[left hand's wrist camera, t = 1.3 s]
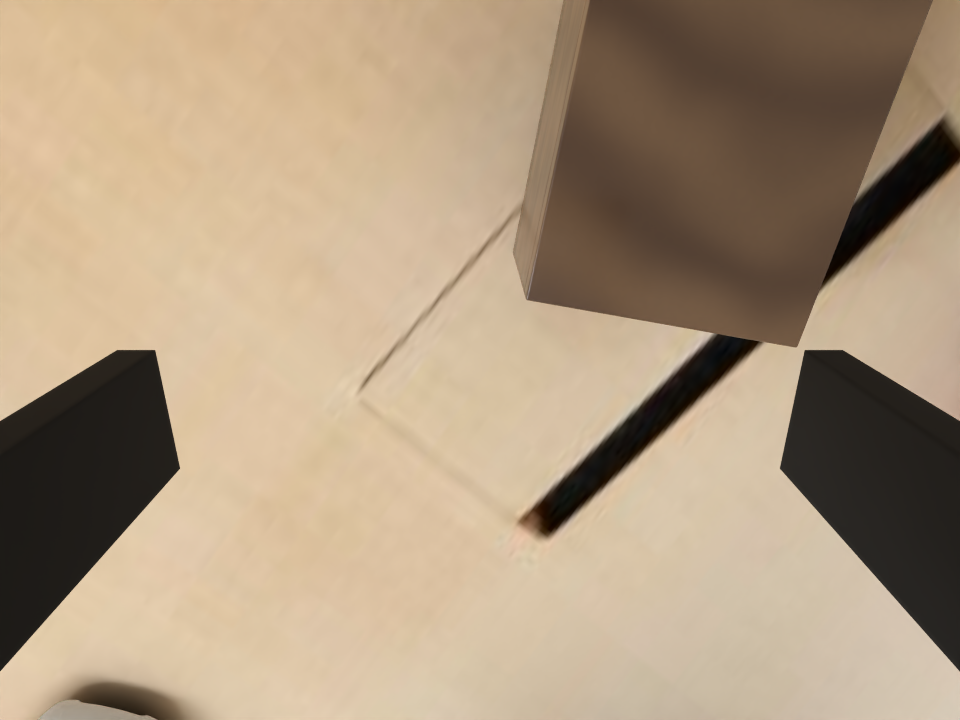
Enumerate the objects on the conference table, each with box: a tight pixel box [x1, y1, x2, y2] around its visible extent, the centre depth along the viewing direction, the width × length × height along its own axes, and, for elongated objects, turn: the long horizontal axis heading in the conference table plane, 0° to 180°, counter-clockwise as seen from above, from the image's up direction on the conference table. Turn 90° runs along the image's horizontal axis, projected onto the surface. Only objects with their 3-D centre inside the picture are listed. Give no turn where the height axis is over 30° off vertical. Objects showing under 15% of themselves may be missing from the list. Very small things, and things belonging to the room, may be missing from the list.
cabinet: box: [513, 0, 933, 347], centre depth 25 cm, size 19×11×10 cm, turn 170°
